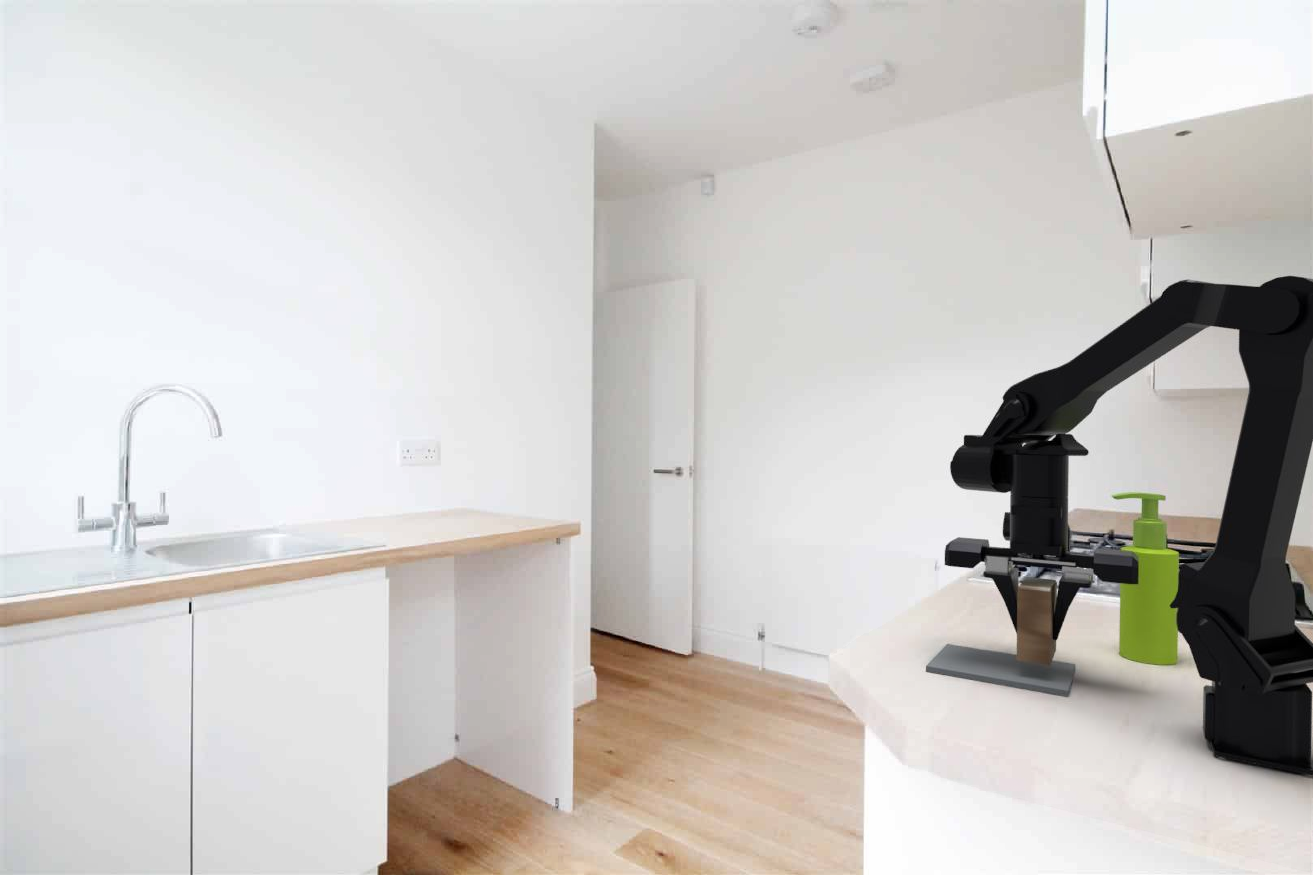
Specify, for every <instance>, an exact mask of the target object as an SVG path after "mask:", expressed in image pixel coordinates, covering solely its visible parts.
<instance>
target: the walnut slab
mask: <svg viewBox="0 0 1313 875" xmlns="http://www.w3.org/2000/svg"><path fill="white" fill-rule="evenodd" d="M1057 593H1058V581H1057V579H1051V578H1050V579H1049V578H1042V577H1041V578H1040V577H1030V576H1026V577H1025V579H1023V581H1022V582H1021V583H1019V587H1018V594H1017V633H1016V655H1017V660H1018V661H1024V662H1031V663H1037V664H1043V665H1050V664H1051V662H1052V660H1053V659H1054V657H1055V655H1056V652H1057V640H1053V620H1054V613H1055V607H1056V600H1057Z"/></svg>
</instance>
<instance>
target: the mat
mask: <svg viewBox="0 0 1313 875" xmlns="http://www.w3.org/2000/svg"><path fill="white" fill-rule="evenodd" d="M925 672H929V673H933V674H934V673H935V674H941V675H943V676H944V675H945V676H951V677H957V678H963V679H967V680H973V681H979V682H983V683H984V682H985V683H990V684H994V685H1000V686H1006V687H1012V688H1017V689H1023V690H1028V691H1033V692H1034V691H1035V692H1039V693H1040V692H1041V693H1046V694H1051V695H1057V696H1062V697H1068V698H1069V694H1070V690H1071V687H1072V683H1073V679H1074V676H1075V672H1076V663H1074V662H1073V663H1071V662H1065V661H1059V660H1053V659H1052V662H1051V664H1050V665H1043V664H1037V663H1031V662H1024V661H1018V660H1017V654H1014V653H1008V652H1002V651H997V650H996V651H995V650H988V649H982V648H976V647H971V646H970V647H969V646H963V645H958V644H957V645H956V644H950V643H946V645H944V646H943V647H942V648H941V650H940V651H939V652H938V653H937V654H936V655H935V656H934V657H933V658H932V659H931V660H930V661H929V662H928V664H927V665H926V666H925Z"/></svg>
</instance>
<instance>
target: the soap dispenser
mask: <svg viewBox="0 0 1313 875" xmlns="http://www.w3.org/2000/svg"><path fill="white" fill-rule="evenodd" d="M1111 497H1112V498H1113V499H1114V500H1118V501H1119V500H1125V499H1141V517H1138V518H1137V519H1134V520H1133V522H1132V526H1133V527H1132V545H1127V546H1122V547H1121V548H1120V550H1124V551H1133V552H1134V553H1135V554H1136V555H1137V556H1138V557H1139V572H1138V584H1123V583H1119V639H1118V640H1119V642H1118V643H1119V644H1118V646H1119V647H1118V650H1119V651H1118V653H1119V654H1118V655H1120V656H1121V657H1122V658H1124V659H1127V660H1131V661H1134V662H1139V663H1142V664H1150V665H1158V666H1172V665H1176V664H1177V663H1178V651H1179V650H1178V645H1179V644H1178V642H1179V640H1178V638H1179V636H1178V635H1179V631H1178V629H1177V625H1176V613H1177V610H1178V608H1170V604H1171V603H1172V602H1173V600H1174V599H1175V597H1176V594H1177V591H1178V574H1179V571H1180V568H1179V566H1180V564H1179V562H1180V553H1179V551H1176V550H1173V549H1170V548H1167V526H1168V524H1167V521H1163V520H1162V518H1159V501H1166V500H1167V498H1166V495H1164V494H1159V493H1151V492H1150V493H1149V492H1148V493H1147V492H1139V491H1138V492H1137V491H1135V492H1133V491H1132V492H1129V491H1128V492H1121V493H1116V494H1111Z"/></svg>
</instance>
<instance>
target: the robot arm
mask: <svg viewBox="0 0 1313 875" xmlns="http://www.w3.org/2000/svg"><path fill="white" fill-rule="evenodd" d="M1210 327H1215V328H1224V329H1231V330H1237V331H1238V354H1239V357H1240V360H1241V363H1242V367H1243V370H1244V372H1245V376H1246V378H1247V382H1248V394H1247V398H1246V403H1245V408H1244V413H1243V417H1242V422H1241V425H1240V431H1239V435H1238V441H1237V445H1236V449H1235V455H1234V459H1233V464H1232V468H1231V471H1230V472H1231V473H1230V477H1229V481H1228V488H1227V491H1226V496H1225V501H1224V505H1223V509H1222V510H1223V511H1222V515H1221V517H1220V518H1221V520H1220V523H1219V528H1218V533H1217V536H1216V537H1217V538H1216V542H1215V545H1214V548H1213V551H1212V552H1211V554H1210V555H1209V556H1208V557H1207V558H1206V560H1205V561H1203V562H1193V563H1182V564H1181V565H1180V568H1179V574H1178V591H1177V594H1176V597H1175V599H1174V600H1173V602H1172V603H1171V604H1170V608H1178V610H1177V613H1176V625H1177V629H1178V633H1180V634H1181V635H1182V637H1183V639H1184V640H1185V642H1186V644H1187V645H1188V646H1189V650H1190V653H1191V656H1192V658H1193V662H1194V665H1195V667H1196V670H1197V673H1198V676H1199V677H1200V678H1201V679H1203V680H1207V681H1211V685H1208V684H1206V685H1204V686H1203V687H1202V688H1203V689H1202V690H1203V692H1202V694H1203V696H1202V699H1203V700H1202V733H1203V737H1204V740H1206V741H1207V742H1209V743H1210V746H1211V751H1212V753H1213V755H1214V756H1216V757H1219V758H1222V759H1223V758H1224V759H1227V760H1232V761H1237V762H1238V761H1239V762H1242V763H1243V762H1244V763H1248V764H1253V765H1257V766H1259V765H1260V766H1263V767H1269V768H1273V769H1279V770H1283V771H1288V772H1293V773H1297V774H1298V773H1299V774H1304V775H1309V776H1313V760H1312V736H1313V735H1312V731H1313V730H1312V727H1313V726H1312V723H1313V720H1312V719H1313V691H1312V690H1311V688H1310V687H1309V686H1308V685H1307V684H1311V683H1313V642H1312V641H1311V640H1310V639H1309V638H1308V637H1307V636H1306V635H1305V634H1304V633H1303V631H1302V630H1301V629H1300V628H1299V627H1297V625H1296V593H1295V589H1294V586H1293V583H1292V580H1291V576H1290V574H1289V570H1288V567H1287V564H1286V561H1287V555H1288V554H1287V553H1288V549H1289V545H1290V542H1291V541H1290V540H1291V536H1292V533H1293V532H1292V531H1293V527H1294V523H1295V519H1296V515H1297V510H1298V506H1299V501H1300V498H1301V494H1302V489H1303V485H1304V480H1305V477H1306V476H1305V475H1306V471H1307V468H1308V464H1309V458H1310V454H1311V450H1312V447H1313V278H1308V277H1304V276H1303V277H1302V276H1295V275H1286V276H1279V277H1275V278H1272V279H1271V280H1269V281H1268V280H1267V281H1265V282H1263V283H1262V284H1261V285H1260V286H1254V285H1253V286H1252V285H1241V284H1229V283H1215V282H1214V283H1213V282H1207V281H1200V280H1193V279H1182V280H1179V281H1177V282H1174V283H1173V284H1170V285H1168V286H1167V287H1166V288H1165V289H1164V291H1163V292H1161V295H1160V296H1159V297H1158V298H1156V299H1155V300H1153V301H1152V302H1151V303H1149V304H1147V305H1146V306H1145V307H1144V308H1142V309H1140V311H1138V312H1136V313H1135V314H1134V315H1132V316H1131V317H1130V318H1128V319H1127V320H1125V321H1124V322H1122V323H1121V324H1120V325H1119V326H1117V327H1116V328H1114V329H1113V330H1111V331H1110V332H1109V333H1107V334H1106V335H1104V336H1103V337H1102V338H1100V339H1099V340H1097V341H1096V342H1095V343H1093V344H1092V345H1091V346H1089V347H1088V348H1086V349H1085V350H1084V351H1082V352H1081V353H1079V354H1078V355H1076V356H1075V357H1074V358H1072V359H1071V360H1070V361H1068V362H1066V363H1064V364H1062V365H1060V366H1057V367H1054V368H1051V369H1047V370H1044V371H1040V372H1038V373H1035V374H1033V375H1030V376H1029V377H1027V378H1025V379H1023V380H1021V381H1018V382H1017V383H1014V384H1013V385H1011V386H1009V387H1008V389H1007V390H1006V391H1005V392H1004V394H1003V396H1002V403H1001V404H1000V406H999V408H998V409H997V411H996V413H995V414H994V416H993V417H992V419H991V420H990V422H989V424H988V425H987V427H986V428H985V431H984V432H983V434H965V435H964V436H963V445H961V446H959V447H958V448H957V450H956V451H955V452H954V455H953V456H952V460H951V461H950V464H949V470H950V475H951V478H952V480H953V482H954V484H955V485H956V486H957V487H958V488H960V489H961V490H966V491H967V490H969V491H978V492H979V491H980V492H991V493H1000V494H1007V493H1009V492H1010V498H1009V501H1010V502H1009V505H1010V506H1009V508H1010V509H1009V510H1010V511H1009V512H1008V511H1007V512H1006V511H1005V512H1004V515H1003V523H1002V537H1003V539H1004V540H1005V541H1008V542H1009V547H1000V546H999V547H998V546H990V542H989V539H985V538H973V537H970V538H969V537H957V538H954V539H952V540H951V541H949V542H948V543H947V544H945V548H944V566H948V567H953V568H954V567H955V568H965V569H966V568H967V569H974V568H975V567H977V566H978V565H980V563H984V566H985V570H984V571H983V573H982V574H983V575H982V577H984V578H988V579H991V580H992V581H993V582H994V584H995V586H996V588H997V590H998V592H999V594H1000V595H1001V597H1002V600H1003V602H1004V604H1005V607H1006V610H1007V612H1008V614H1009V617H1010V621H1011V623H1012V625H1013V628H1014V630H1015V632H1016V634H1017V594H1018V587H1019V585H1020V583H1019V568H1018V567H1015V566H1021V567H1022V566H1023V567H1033V568H1044V569H1052V570H1061V573H1062V576H1061V577H1060V578H1059V580H1058V585H1057V600H1056V607H1055V613H1054V620H1053V640H1056V641H1057V640H1058V638H1059V636H1060V633H1061V630H1062V627H1063V625H1064V622H1065V620H1066V616H1067V614H1068V611H1069V608H1070V606H1071V604H1072V603H1073V602H1074V601H1073V600H1074V598H1076V595H1077V594H1078V592H1079V591H1080V589H1083V588H1084V589H1090V588H1092V586H1093V583H1094V575H1095V576H1096V578H1098V579H1099V580H1100V581H1101V582H1102V583H1103V582H1105V583H1115V584H1120V583H1123V584H1138V572H1139V557H1138V556H1137V555H1136V554H1135V553H1134V552H1133V551H1124V550H1121V549H1110V548H1109V549H1108V548H1097V547H1096V548H1095V551H1094V553H1093V554H1084V553H1083V554H1080V553H1071V552H1070V551H1071V527H1070V525H1069V474H1070V473H1069V472H1070V471H1069V466H1070V464H1069V461H1070V460H1069V458H1070V457H1086V456H1088V455H1089V449H1088V448H1086V447H1085V446H1084V445H1083V444H1081V443H1080V442H1079V441H1078V440H1077V439H1076V438H1075V437H1074V435H1073V434H1071V433H1069V432H1071V431H1073V430H1074V429H1075V428H1076V427H1077V426H1078V425H1079V424H1080V423H1081V422H1083V421H1084V420H1085V419H1086V418H1088V416H1089V415H1090V414H1091V413H1092V412H1093V410H1094V409H1095V406H1096V404H1097V402H1098V401H1099V399H1100V398H1101V397H1103V395H1105V394H1106V393H1108V391H1110V390H1111V389H1113V388H1115V387H1116V386H1118V385H1119V384H1121V383H1123V382H1124V381H1126V380H1127V379H1129V378H1130V377H1132V376H1134V375H1135V374H1137V373H1138V372H1139V371H1141V370H1143V369H1145V368H1146V367H1148V366H1149V365H1151V364H1152V363H1154V362H1155V361H1157V360H1158V359H1160V358H1161V357H1163V356H1165V355H1166V354H1167V353H1169V352H1171V351H1173V350H1174V349H1175V348H1177V347H1179V346H1180V345H1182V344H1184V343H1185V342H1186V341H1188V340H1190V339H1192V338H1193V337H1194V336H1196V335H1197V334H1198V333H1200V332H1202V331H1203V330H1205V329H1207V328H1210Z"/></svg>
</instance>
